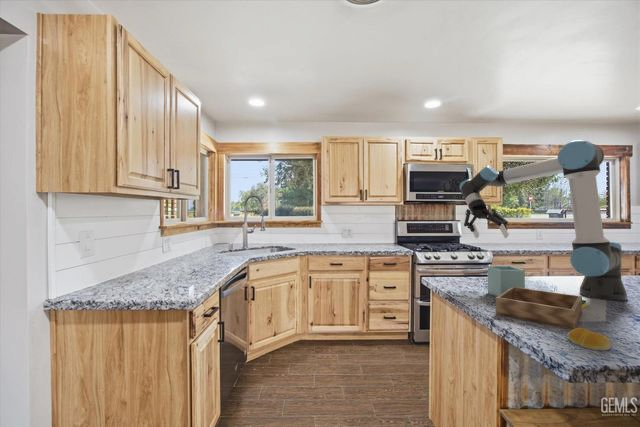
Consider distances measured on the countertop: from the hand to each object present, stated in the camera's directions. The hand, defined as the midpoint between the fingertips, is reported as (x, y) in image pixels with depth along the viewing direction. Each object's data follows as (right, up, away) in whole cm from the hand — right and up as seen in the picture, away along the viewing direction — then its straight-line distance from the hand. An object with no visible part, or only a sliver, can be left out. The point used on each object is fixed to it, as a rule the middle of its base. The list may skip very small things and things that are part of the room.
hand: (492, 236), depth 148 cm
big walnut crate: (-1, -25, -33) cm, 42 cm away
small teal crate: (0, -25, -10) cm, 27 cm away
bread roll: (-5, -26, -59) cm, 64 cm away
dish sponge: (+16, -25, -21) cm, 37 cm away
